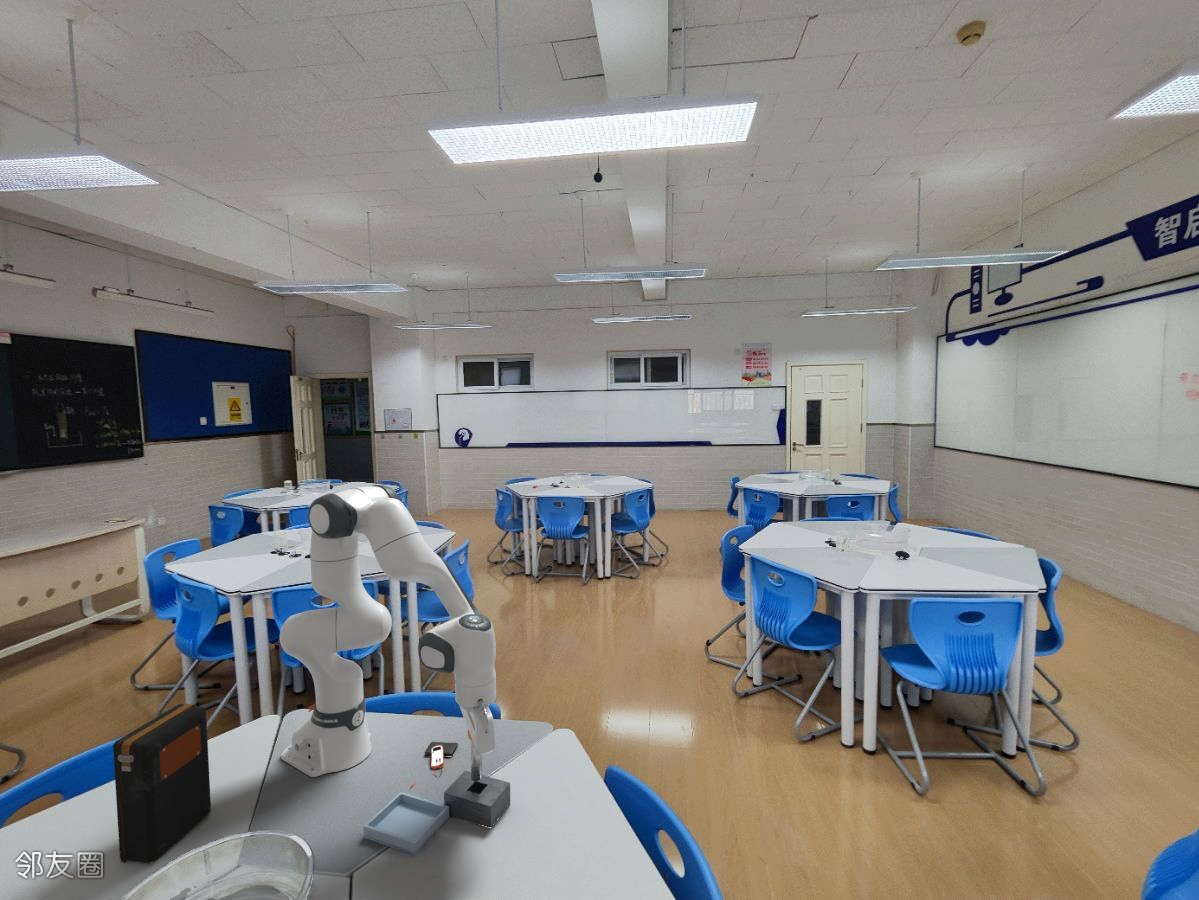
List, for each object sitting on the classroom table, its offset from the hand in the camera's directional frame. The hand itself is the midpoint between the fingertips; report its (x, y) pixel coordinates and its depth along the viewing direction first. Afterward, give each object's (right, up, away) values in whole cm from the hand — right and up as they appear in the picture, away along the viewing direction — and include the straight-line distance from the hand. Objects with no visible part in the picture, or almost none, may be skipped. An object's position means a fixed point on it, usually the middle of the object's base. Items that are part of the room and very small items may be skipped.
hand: (476, 749), depth 122 cm
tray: (-14, -14, -5) cm, 20 cm away
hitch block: (0, -14, 0) cm, 14 cm away
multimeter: (-13, -14, +15) cm, 24 cm away
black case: (-63, -15, -7) cm, 65 cm away
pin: (0, -7, +1) cm, 7 cm away
